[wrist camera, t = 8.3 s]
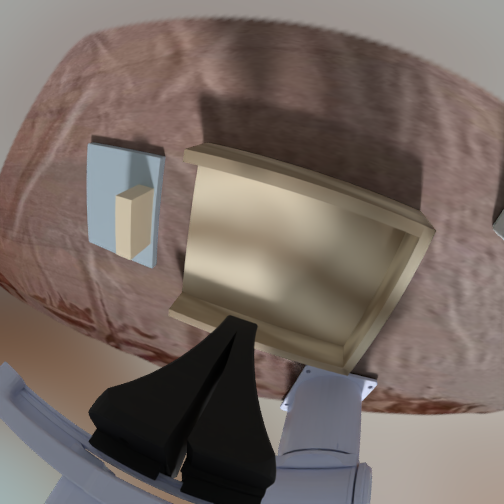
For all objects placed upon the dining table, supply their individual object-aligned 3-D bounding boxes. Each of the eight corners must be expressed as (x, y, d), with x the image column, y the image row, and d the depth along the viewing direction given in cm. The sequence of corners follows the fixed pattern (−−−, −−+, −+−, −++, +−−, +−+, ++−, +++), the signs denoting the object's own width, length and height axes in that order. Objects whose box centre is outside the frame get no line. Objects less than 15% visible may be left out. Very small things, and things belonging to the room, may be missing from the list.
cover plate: (158, 262, 26) (133, 286, 22) (96, 236, 27) (69, 254, 23) (168, 155, 21) (136, 166, 17) (97, 141, 22) (63, 150, 18)
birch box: (347, 346, 24) (347, 375, 21) (186, 292, 26) (168, 315, 23) (420, 211, 17) (436, 230, 14) (207, 142, 19) (184, 149, 16)
